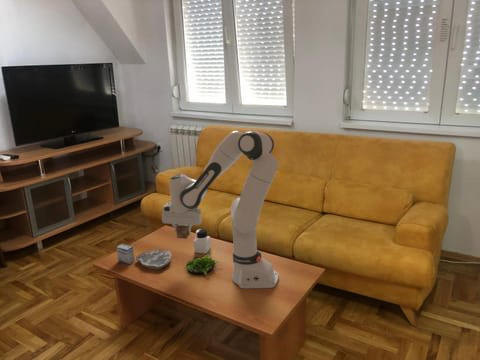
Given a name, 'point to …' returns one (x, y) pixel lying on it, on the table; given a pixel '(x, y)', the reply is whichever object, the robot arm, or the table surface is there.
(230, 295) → the table surface
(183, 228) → the walnut block
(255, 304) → the table surface
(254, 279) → the robot arm
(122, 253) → the medicine box
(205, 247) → the medicine bottle
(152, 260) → the brain slice
